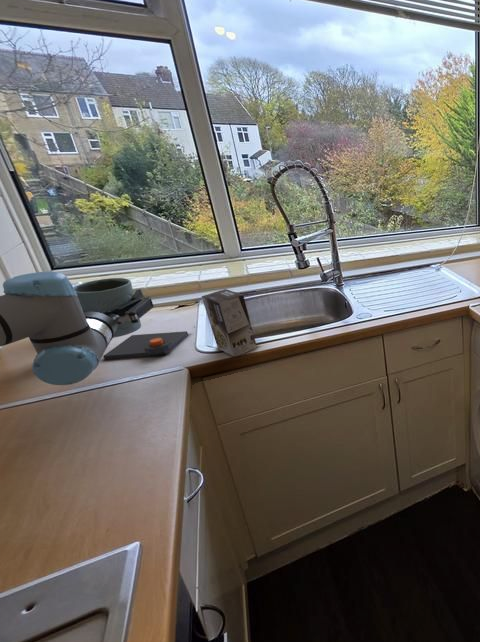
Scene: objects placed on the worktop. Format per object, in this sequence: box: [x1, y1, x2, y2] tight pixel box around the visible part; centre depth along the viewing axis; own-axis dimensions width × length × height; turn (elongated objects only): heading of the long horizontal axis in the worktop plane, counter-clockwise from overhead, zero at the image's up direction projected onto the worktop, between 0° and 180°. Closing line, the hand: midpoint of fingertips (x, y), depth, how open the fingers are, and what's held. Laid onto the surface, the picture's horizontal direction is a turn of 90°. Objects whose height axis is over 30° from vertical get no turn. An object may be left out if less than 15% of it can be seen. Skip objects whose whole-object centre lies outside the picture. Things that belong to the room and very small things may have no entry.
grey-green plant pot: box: [73, 277, 142, 339], centre depth 97 cm, size 10×10×12 cm
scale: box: [102, 330, 189, 361], centre depth 112 cm, size 15×13×3 cm
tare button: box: [150, 338, 164, 347], centre depth 109 cm, size 3×3×2 cm
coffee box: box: [201, 288, 257, 358], centre depth 110 cm, size 9×6×16 cm
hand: (113, 298), depth 100 cm, fingers closed on grey-green plant pot, 10 cm apart
